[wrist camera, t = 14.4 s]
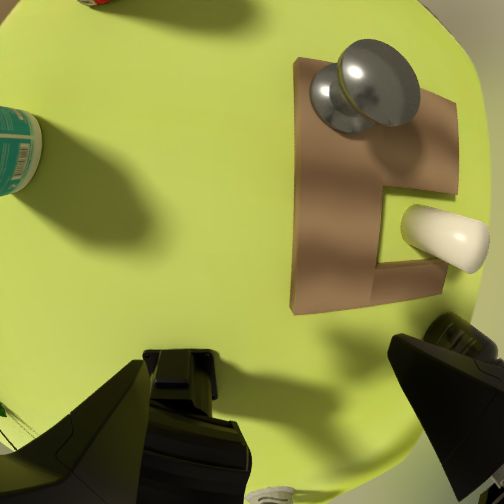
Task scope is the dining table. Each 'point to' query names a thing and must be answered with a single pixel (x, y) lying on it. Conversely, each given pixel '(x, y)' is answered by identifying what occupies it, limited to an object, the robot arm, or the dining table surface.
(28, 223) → the dining table surface
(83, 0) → the soda can
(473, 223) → the cream peg
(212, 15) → the dining table surface
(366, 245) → the notched board
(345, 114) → the bobbin
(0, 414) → the flower
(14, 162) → the pill bottle
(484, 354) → the supplement bottle
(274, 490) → the french press
